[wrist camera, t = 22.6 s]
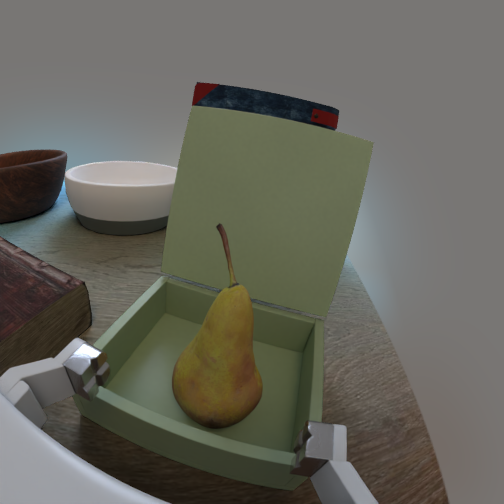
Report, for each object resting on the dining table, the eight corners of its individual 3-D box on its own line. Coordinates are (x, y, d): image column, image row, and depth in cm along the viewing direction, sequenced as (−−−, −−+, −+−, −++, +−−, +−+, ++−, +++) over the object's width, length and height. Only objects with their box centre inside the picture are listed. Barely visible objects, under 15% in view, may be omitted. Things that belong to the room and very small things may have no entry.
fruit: (158, 425, 15) (150, 255, 10) (188, 367, 20) (204, 214, 15) (244, 452, 14) (304, 297, 9) (260, 388, 19) (307, 239, 14)
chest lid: (373, 142, 19) (361, 150, 23) (191, 105, 20) (209, 117, 25) (326, 317, 22) (322, 297, 27) (160, 271, 24) (181, 259, 28)
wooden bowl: (15, 238, 31) (10, 172, 27) (-52, 222, 29) (-57, 172, 25) (86, 195, 54) (88, 150, 50) (15, 188, 51) (14, 149, 47)
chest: (292, 491, 12) (318, 469, 10) (80, 414, 14) (62, 376, 12) (309, 355, 25) (324, 319, 23) (161, 312, 26) (162, 274, 24)
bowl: (204, 213, 55) (210, 172, 52) (141, 257, 35) (143, 195, 32) (116, 193, 58) (118, 157, 55) (41, 222, 38) (39, 174, 35)
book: (306, 232, 57) (335, 112, 47) (311, 245, 51) (345, 109, 41) (184, 208, 56) (203, 87, 46) (174, 219, 50) (195, 81, 40)
